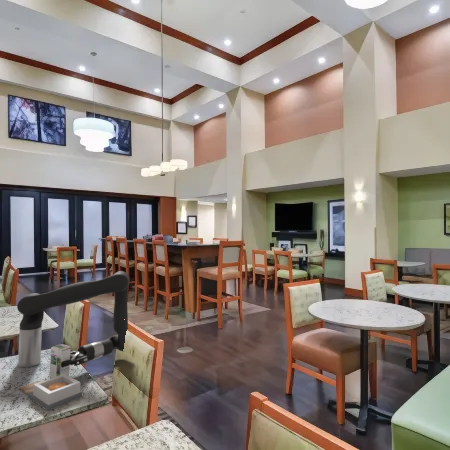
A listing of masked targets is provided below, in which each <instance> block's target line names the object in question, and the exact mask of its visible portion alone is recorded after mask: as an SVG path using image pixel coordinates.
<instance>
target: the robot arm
mask: <svg viewBox="0 0 450 450" xmlns="http://www.w3.org/2000/svg"><path fill="white" fill-rule="evenodd" d="M130 281H131V279H130V276H129V274H128V272H125V271H123V270H118V271H116V272H115V273H114V274H112V275H110V276H108V277H105V278H102V279H97V280H86V281H79V282H74V283H71V284H67V285H65V286H64V285H63V286H62V287H59V288H56V289H54V290H52V291H48V292H45V293H38V292H33V293H29V294H27V295H25V296H23V297H22V298H21V299H19V301H18V302H17V306H16V308H17V311H18V312H19V313H20V314H21V315H22V318H21V321H20V323H19V331H18V332H19V333H18V335H19V337H18V340H19V341H18V359H17V362H18V364H17V365H18V367H20V368H30V367H34V366H37V365H39V364H41V361H42V360H41V358H42V357H41V356H42V354H41V353H42V335H43V334H42V331H43V330H42V329H43V321H44V317H45V310H48V309H51V308H55V307H61V306H67V305H70V304H77V303H79V302H83V301H86V300H89V299H93V298H97V297H98V296H102V295H107V294H112V293H113V294H114V307H113V317H112V320H113V323H112V324H113V325H112V326H113V331H114V332H115V333H116V334H114V335H112V336H110V337H108V338H106V339H103V340H100V341H94V342H91V343H87V344H84V345H80V346H79V348H78V349H77V350H73V349H71V348H70V359H69V360H66V361H63V362H61V367H66V366H69V365H70V366H73V367H78V366H80V365H83V364H84V363H85V364H86V363H88V362H91V361H94V360H97V359H100V358H101V357H105V356H108V355H110V354H112V353H113V351H114V350H116V351H117V350H118V351H120V352H124V351H123V349H124V343H125V335H126V331H127V329H129V315H128V314H129V313H128V311H129V310H128V292H129V285H130ZM124 319H125V320H124Z"/></svg>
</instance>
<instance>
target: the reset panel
mask: <svg viewBox="0 0 450 450" xmlns="http://www.w3.org/2000/svg"><path fill="white" fill-rule="evenodd" d="M58 382H63V383H65V384H66V386H64V387H61V388H58V389H55V390H53V391H50V390H48V387H49V386H50V385H51V384H54V383H58ZM83 397H84V396H83V392H81V382H80V381H79V380H77V379H75V378H74V377H71V376H70V375H69V376H68V375H66V374H63V375H60V376H57V377H54V378H51V379H50V378H48V379H46V380H42V381H41V382H39V383H36V384H33V391H32V392H30V393H28V395H27V398H29V399H31V400H32V401H33V402H35V403H36V404H38V405H39V406H40V407H42V408H43V409H45V410H46V411H49V412H50V411H52V410H54V409H57V408H59V407H61V406H64V405H66V404H68V403H71V402H73V401H75V400H78V399H80V398H83Z"/></svg>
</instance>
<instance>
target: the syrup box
mask: <svg viewBox="0 0 450 450" xmlns="http://www.w3.org/2000/svg"><path fill="white" fill-rule="evenodd" d="M70 350H71V345H66V344H63V343H61V344H56V345H54V346H52V347H50V361H49V363H50V364H49V379H51V378H54V377H57V376H60V375H63V374H66V375H68V376H69V377H70V367H71V365H69V366H66V367H61V362H63V361H66V360H69V359H70Z"/></svg>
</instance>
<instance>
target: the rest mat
mask: <svg viewBox="0 0 450 450" xmlns="http://www.w3.org/2000/svg"><path fill="white" fill-rule="evenodd" d="M39 382H42V381H41V380H38V381H35V382H32V383H29V384H26V385H21V386H19V387H18V390H19V391H21V392H22V393H24V394H25V395H27V396H28V393H30V392H32V391H33V384H36V383H39Z"/></svg>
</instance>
